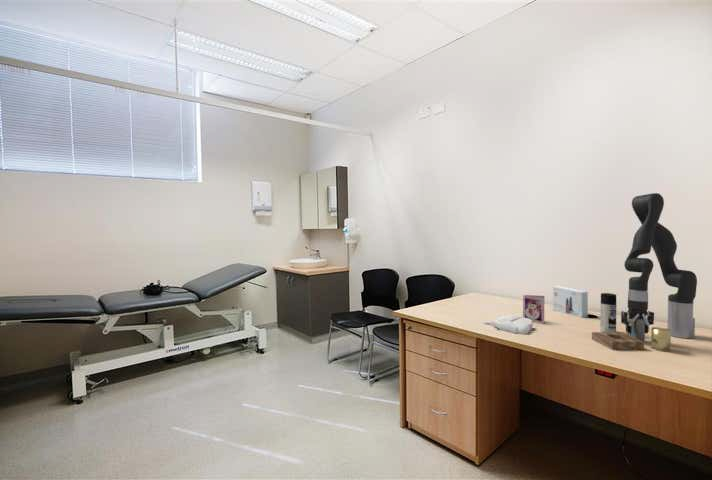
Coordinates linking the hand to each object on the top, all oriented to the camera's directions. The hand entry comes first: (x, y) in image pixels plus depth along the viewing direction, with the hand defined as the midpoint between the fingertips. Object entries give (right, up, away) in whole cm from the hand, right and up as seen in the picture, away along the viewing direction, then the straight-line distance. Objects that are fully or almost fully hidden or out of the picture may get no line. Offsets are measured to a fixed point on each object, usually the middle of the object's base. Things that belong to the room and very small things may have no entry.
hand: (637, 332), depth 164 cm
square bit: (0, -4, 0) cm, 4 cm away
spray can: (-3, -4, +14) cm, 15 cm away
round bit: (+2, -4, -11) cm, 12 cm away
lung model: (-53, -4, +24) cm, 58 cm away
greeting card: (-31, -3, +35) cm, 47 cm away
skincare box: (0, -2, +52) cm, 52 cm away
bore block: (-13, -4, -4) cm, 14 cm away
